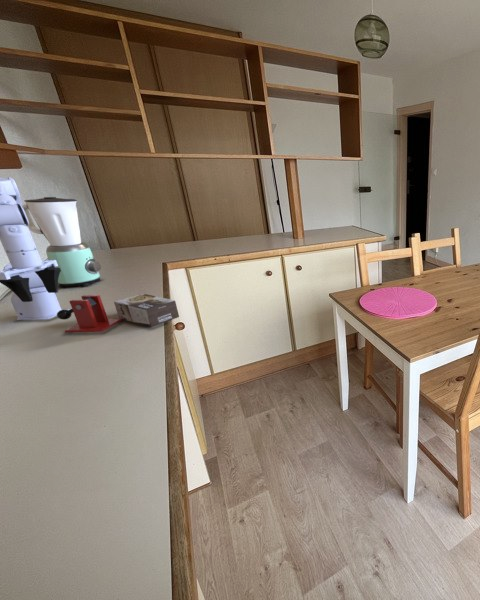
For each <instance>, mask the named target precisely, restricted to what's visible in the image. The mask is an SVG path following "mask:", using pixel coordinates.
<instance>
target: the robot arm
mask: <svg viewBox="0 0 480 600" xmlns="http://www.w3.org/2000/svg"><path fill="white" fill-rule="evenodd" d="M22 205H23V201H22V198H21V193H20V190H19V188H18V185H17V183H16V181H15V179H14V178H12V177H10V176H8V177H0V243H1V245H2V247H3V250H4V252H5V254H6V257H7V258H8V261H9V263H7V264H6V265H5V266H4V267H3V269H2V270H1V271H0V284H2V286H5V287H6V288H7V289H9V290H10V291H11V292H12V295H11V297H10V302H11V304H12V307H13V309H14V311H15V313H16V315H17V318H16V319H15V320H16V321H19V320H21V321H22V320H27V321H28V320H50V319H52V318H54V317H57V313H58V311H60V310H70V308H68V309H67V308H64V309H63V308H62V306H61V305H60V302H59V300H58V297H57V295H56V293H58V292H59V284H58V277H59V274H60V272H61V269H60V268H55V267H57V266H58V264H57V261H56V260H49V259H48V260H42V258H41V255H40V253H39V250H38V248H37V246H36V243H35V240H34V237H33V236H32V232H31V231H30V230H29V228H28V227H27V226H26V225H28V226H29V221H28V218H27V216H26V213H25V211H24V209H23V208H22ZM25 224H26V225H25Z"/></svg>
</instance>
